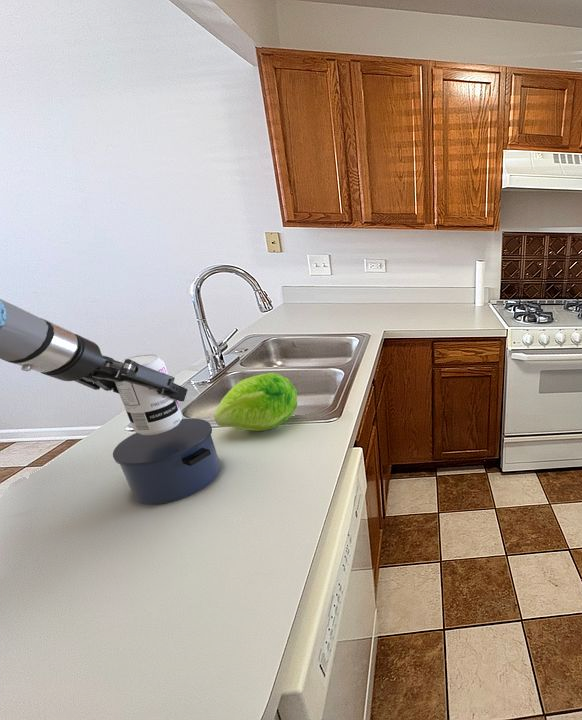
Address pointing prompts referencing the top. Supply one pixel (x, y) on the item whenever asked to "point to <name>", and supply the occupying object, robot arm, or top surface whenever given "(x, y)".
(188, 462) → the pot
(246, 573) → the top surface
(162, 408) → the supplement can
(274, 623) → the top surface
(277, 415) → the lettuce
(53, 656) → the top surface
